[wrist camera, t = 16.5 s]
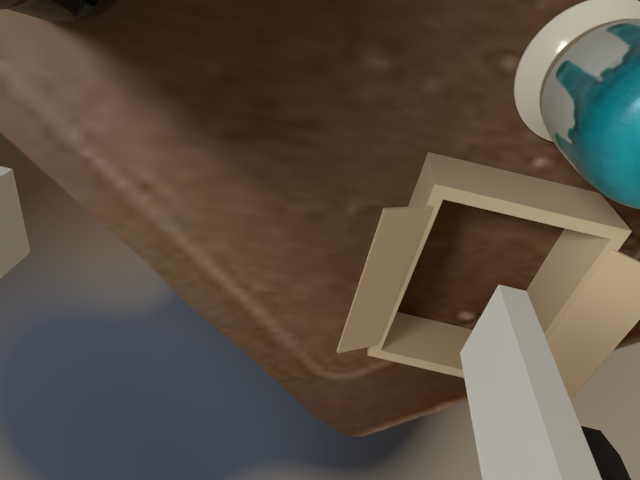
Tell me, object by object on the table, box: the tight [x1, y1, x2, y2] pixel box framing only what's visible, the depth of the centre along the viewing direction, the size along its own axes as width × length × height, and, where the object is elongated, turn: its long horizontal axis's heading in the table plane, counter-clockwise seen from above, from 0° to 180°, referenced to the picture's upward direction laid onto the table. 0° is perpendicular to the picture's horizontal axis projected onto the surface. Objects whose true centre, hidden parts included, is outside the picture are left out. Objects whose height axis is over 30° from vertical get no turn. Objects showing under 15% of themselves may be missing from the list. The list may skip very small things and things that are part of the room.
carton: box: [337, 152, 640, 400], centre depth 46 cm, size 25×22×10 cm
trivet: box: [513, 0, 640, 142], centre depth 38 cm, size 12×12×1 cm
